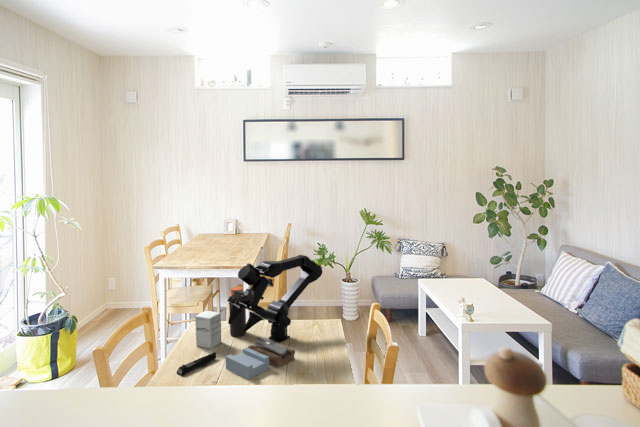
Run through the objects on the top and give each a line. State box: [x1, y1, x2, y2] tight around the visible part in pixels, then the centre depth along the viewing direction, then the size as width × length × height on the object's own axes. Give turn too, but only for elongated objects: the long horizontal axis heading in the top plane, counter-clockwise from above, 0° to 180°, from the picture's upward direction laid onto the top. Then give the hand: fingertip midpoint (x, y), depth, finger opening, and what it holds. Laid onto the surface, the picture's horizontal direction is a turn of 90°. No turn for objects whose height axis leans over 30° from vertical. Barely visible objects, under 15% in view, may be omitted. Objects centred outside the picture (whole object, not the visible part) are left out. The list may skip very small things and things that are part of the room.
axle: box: [254, 336, 288, 358], centre depth 151 cm, size 14×4×4 cm, turn 50°
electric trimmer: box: [176, 351, 217, 377], centre depth 145 cm, size 4×16×3 cm, turn 142°
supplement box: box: [195, 310, 222, 349], centre depth 163 cm, size 7×7×13 cm
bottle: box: [228, 286, 247, 338], centre depth 172 cm, size 7×7×20 cm
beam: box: [247, 344, 296, 368], centre depth 151 cm, size 16×9×4 cm, turn 50°
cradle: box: [225, 346, 270, 380], centre depth 143 cm, size 12×10×4 cm
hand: (236, 327), depth 153 cm, fingers open, 9 cm apart
